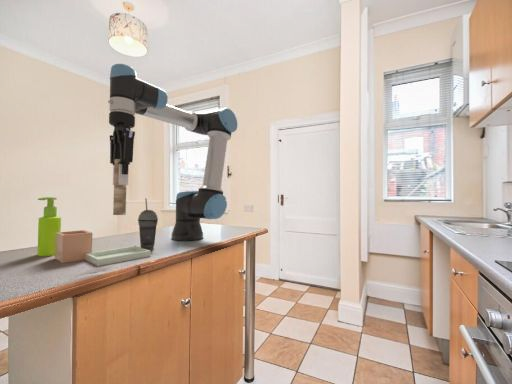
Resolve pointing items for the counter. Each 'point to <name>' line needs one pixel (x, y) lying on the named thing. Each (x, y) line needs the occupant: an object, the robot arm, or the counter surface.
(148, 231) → the beverage cup
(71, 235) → the pot
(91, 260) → the tray
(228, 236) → the counter surface
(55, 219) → the soap dispenser
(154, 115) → the robot arm
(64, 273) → the counter surface
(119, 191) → the dowel
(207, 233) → the counter surface
